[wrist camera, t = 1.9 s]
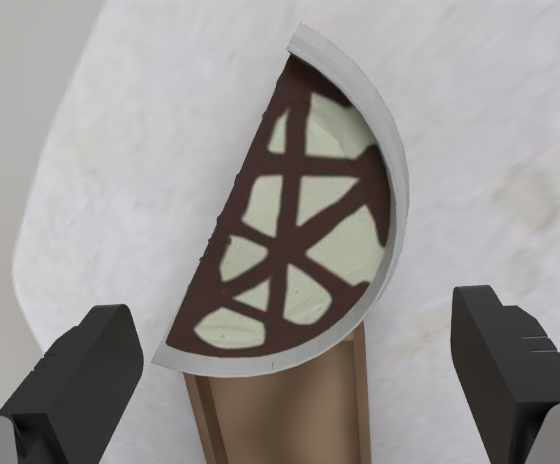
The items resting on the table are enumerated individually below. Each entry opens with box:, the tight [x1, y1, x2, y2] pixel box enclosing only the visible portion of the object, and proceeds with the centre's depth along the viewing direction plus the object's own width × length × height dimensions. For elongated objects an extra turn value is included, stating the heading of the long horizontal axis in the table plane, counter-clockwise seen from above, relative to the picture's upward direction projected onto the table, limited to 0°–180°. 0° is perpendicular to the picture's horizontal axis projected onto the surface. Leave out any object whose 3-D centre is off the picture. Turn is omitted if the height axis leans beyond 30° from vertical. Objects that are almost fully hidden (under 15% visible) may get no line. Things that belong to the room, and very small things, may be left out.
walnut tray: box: [183, 320, 371, 464], centre depth 29 cm, size 10×16×2 cm, turn 7°
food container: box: [151, 22, 409, 378], centre depth 18 cm, size 12×6×10 cm, turn 156°
